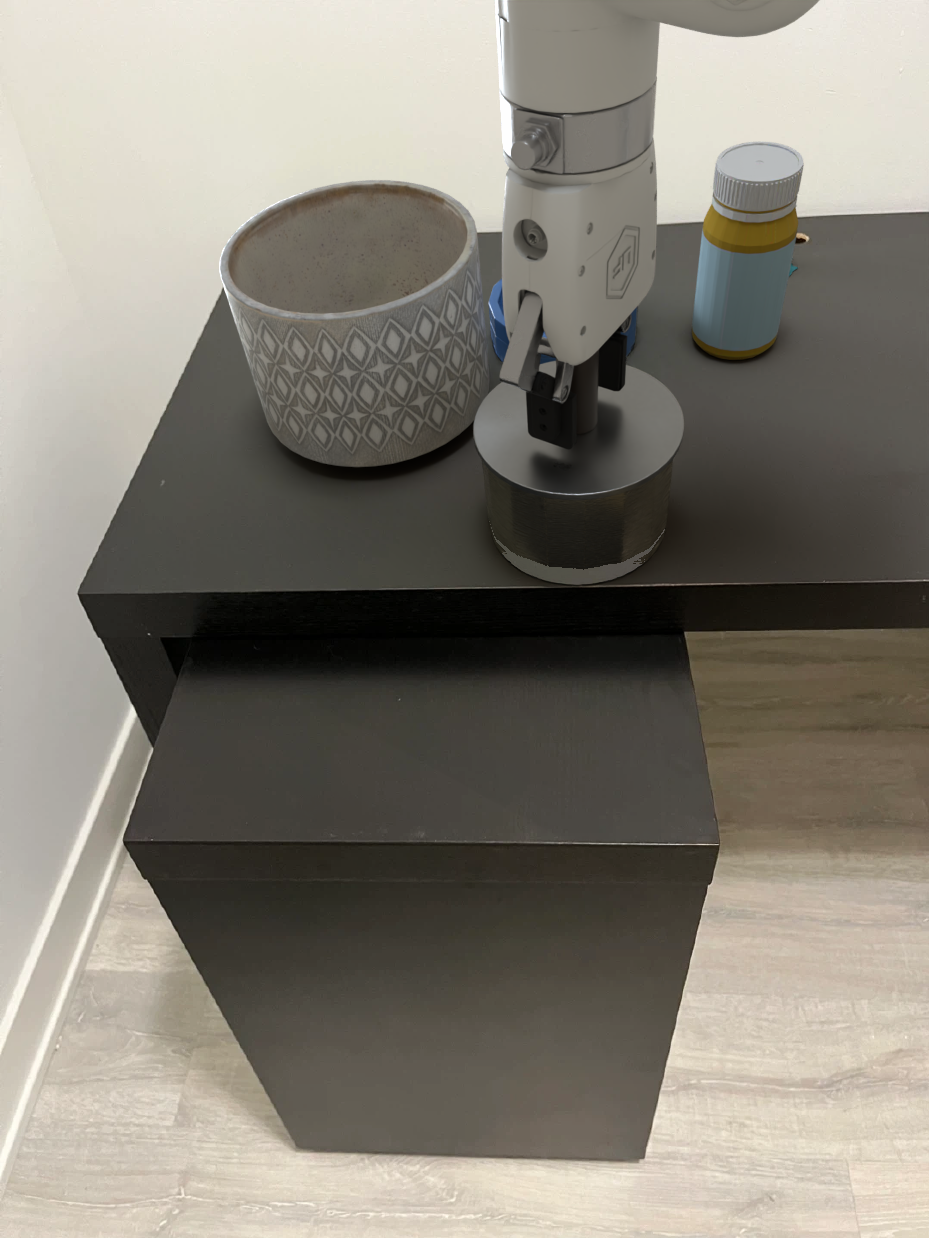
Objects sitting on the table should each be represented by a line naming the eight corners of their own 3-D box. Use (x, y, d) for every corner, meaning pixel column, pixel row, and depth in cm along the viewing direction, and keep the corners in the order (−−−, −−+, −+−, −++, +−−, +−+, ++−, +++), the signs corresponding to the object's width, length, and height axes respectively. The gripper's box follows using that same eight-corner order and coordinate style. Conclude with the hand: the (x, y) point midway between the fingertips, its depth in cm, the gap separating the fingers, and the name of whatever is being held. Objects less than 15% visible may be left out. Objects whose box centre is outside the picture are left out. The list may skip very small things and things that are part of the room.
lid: (717, 406, 63) (731, 312, 57) (621, 536, 56) (626, 444, 51) (541, 351, 68) (537, 261, 63) (434, 464, 62) (420, 374, 56)
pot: (695, 495, 69) (708, 400, 62) (613, 611, 63) (618, 521, 56) (546, 442, 74) (543, 350, 67) (456, 545, 68) (443, 455, 61)
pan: (660, 317, 83) (663, 276, 80) (592, 397, 77) (592, 355, 74) (538, 284, 88) (537, 243, 85) (465, 356, 82) (461, 316, 79)
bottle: (682, 356, 79) (700, 179, 68) (701, 309, 83) (722, 135, 71) (766, 369, 77) (800, 189, 65) (783, 321, 81) (817, 143, 69)
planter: (317, 330, 87) (279, 174, 75) (514, 348, 82) (505, 185, 71) (233, 466, 76) (173, 307, 64) (455, 495, 71) (433, 330, 60)
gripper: (555, 218, 41) (561, 514, 55) (721, 62, 49) (689, 354, 63) (416, 184, 44) (454, 473, 58) (594, 43, 52) (590, 326, 66)
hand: (577, 409), depth 61 cm, fingers open, 5 cm apart
